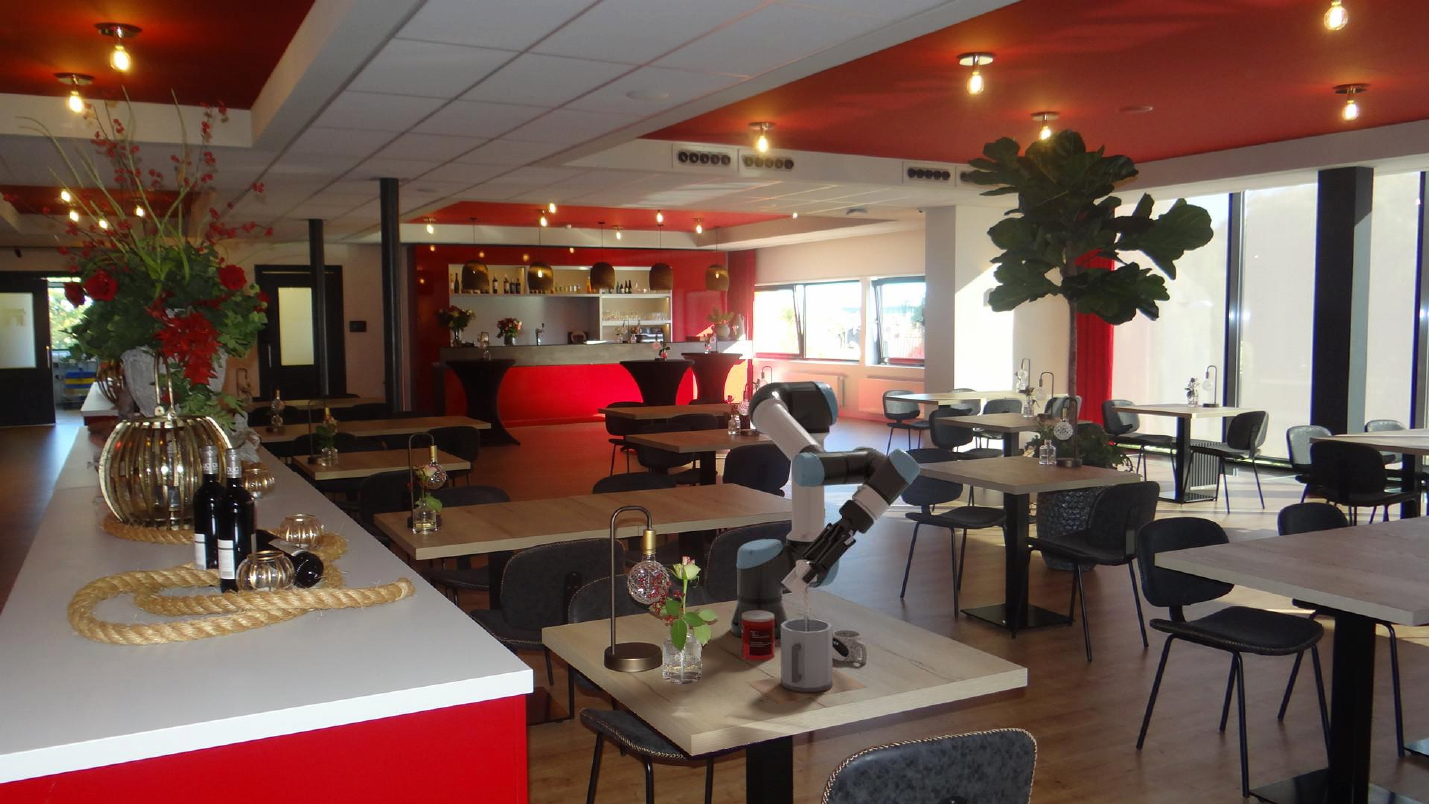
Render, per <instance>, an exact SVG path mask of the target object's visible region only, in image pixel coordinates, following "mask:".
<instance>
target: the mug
mask: <svg viewBox="0 0 1429 804" xmlns="http://www.w3.org/2000/svg"><path fill="white" fill-rule="evenodd" d="M867 650H868V649H867V646H866V645H865V643H864V642H862V634H861V632H859V631H857V630H851V629H841V630H840V629H839V630H835V631H832V659H834V660H837V661H840V662H855V663H859V664H864V665H865V664H866V663H867V659H868V651H867Z"/></svg>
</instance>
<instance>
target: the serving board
mask: <svg viewBox="0 0 1429 804" xmlns="http://www.w3.org/2000/svg"><path fill="white" fill-rule="evenodd" d="M832 679H833V686H832V688H831V689H830V690H828V691H825V692H821V693H814V694H802V693H795V692H791V691H788V690H785V689H784V688H782V687H781V676H778V677H772V678H766V679H761V680H755V681H748V682H746V684H748V685H749V686H750V687H752V688H754V689H755V690H757V691H758V692H760V693H761V694H763V695H764V696H766V697H767V698H769V699H770V700H772V702H774V703H776V704H783V703H789V702H793V701H799V700H804V699H809V698H810V699H811V698H815V697H820V696H825V695H826V696H828V695H830V694H831V695H832V694H837V693H843V692H847V691H853V690H859V689H864V688H868V686H867V685H865V684H864V683H862V682H860V681H858V680H856V679H855V678H852V676H851V677H850V676H849V675H847V674H845V673H843V672H841V671H839V670H838V669H836V668H834V667H832Z"/></svg>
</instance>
